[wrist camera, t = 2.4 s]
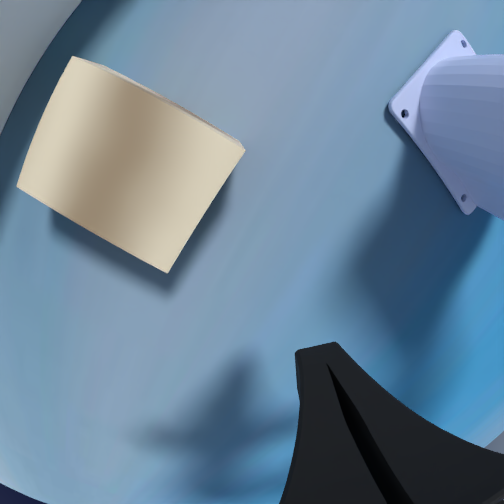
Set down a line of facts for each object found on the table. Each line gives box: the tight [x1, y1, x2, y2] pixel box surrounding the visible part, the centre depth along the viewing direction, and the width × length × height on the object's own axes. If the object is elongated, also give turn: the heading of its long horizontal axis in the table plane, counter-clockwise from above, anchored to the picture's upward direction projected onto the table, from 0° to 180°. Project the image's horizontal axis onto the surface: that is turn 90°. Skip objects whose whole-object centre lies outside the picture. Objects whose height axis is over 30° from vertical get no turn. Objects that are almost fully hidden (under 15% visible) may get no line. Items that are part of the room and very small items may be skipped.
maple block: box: [17, 56, 245, 274], centre depth 13 cm, size 8×6×4 cm
